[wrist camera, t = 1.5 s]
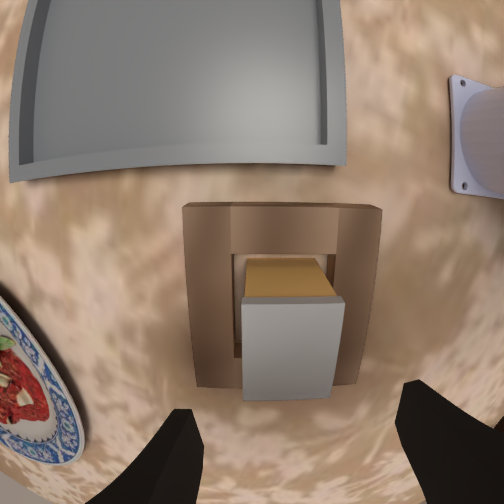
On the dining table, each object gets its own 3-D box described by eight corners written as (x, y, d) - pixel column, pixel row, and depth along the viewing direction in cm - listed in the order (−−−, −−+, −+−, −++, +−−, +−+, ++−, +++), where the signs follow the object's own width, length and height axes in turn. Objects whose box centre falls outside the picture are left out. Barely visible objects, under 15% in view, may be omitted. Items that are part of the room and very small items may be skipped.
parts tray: (323, -53, 13) (329, -70, 10) (335, 165, 17) (346, 165, 15) (51, -16, 13) (36, -26, 11) (29, 179, 17) (9, 183, 15)
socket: (370, 204, 18) (382, 209, 16) (349, 368, 21) (356, 383, 19) (189, 202, 18) (182, 206, 16) (200, 370, 21) (197, 386, 19)
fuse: (316, 256, 19) (345, 303, 12) (310, 332, 20) (330, 397, 14) (245, 256, 19) (241, 304, 12) (246, 333, 20) (243, 400, 14)
